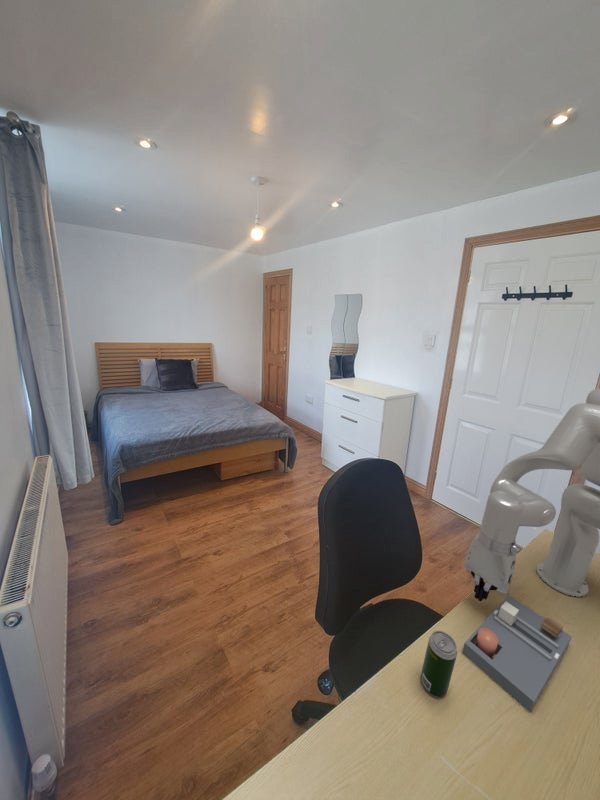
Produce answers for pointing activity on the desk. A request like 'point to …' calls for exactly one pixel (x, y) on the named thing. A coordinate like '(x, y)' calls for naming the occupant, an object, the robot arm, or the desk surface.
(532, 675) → the console
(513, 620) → the slider knob
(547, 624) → the rocker
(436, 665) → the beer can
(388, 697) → the desk surface
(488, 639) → the push button
